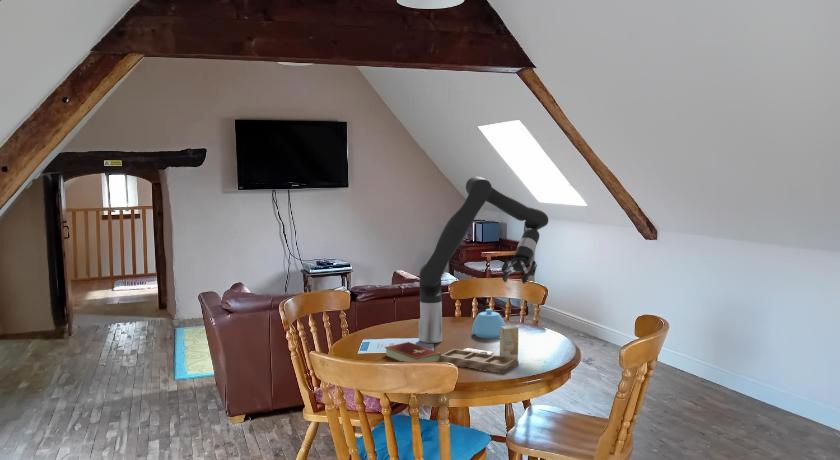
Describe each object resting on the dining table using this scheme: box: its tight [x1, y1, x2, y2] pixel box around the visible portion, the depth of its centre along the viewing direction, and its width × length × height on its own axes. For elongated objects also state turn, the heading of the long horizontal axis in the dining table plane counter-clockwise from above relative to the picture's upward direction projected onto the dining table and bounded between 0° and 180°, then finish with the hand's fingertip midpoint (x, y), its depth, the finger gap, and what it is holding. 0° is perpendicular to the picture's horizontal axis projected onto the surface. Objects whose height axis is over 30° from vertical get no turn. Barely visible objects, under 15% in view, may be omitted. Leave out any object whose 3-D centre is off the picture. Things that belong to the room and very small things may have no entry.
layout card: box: [463, 347, 494, 355], centre depth 254 cm, size 12×7×1 cm, turn 57°
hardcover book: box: [384, 341, 442, 362], centre depth 248 cm, size 12×21×4 cm, turn 37°
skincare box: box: [499, 325, 519, 359], centre depth 246 cm, size 6×4×12 cm
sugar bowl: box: [471, 308, 507, 339], centre depth 282 cm, size 15×15×12 cm
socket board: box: [438, 348, 520, 375], centre depth 239 cm, size 27×13×3 cm, turn 57°
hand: (513, 281), depth 262 cm, fingers open, 8 cm apart
